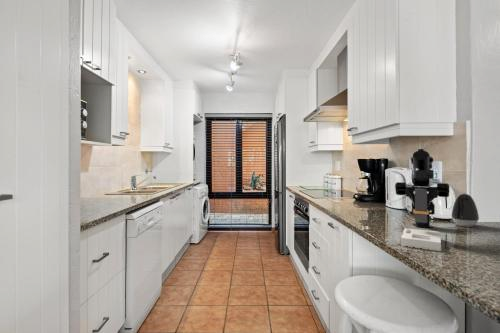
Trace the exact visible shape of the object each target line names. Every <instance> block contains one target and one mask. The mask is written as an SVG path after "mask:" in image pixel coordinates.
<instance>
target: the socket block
mask: <svg viewBox="0 0 500 333" xmlns="http://www.w3.org/2000/svg"><path fill="white" fill-rule="evenodd" d="M400 238H401V239H400V240H401V241H400V242H401V245H402V246H401V245H400V246H401V247H405V246H408V247H407V248H413V247H415V248H414V249H420V248H422V250H428V249H429V251H434V252H436V251H437V252H441V251H442V241H441V234H440V231H434V230H426V229H418V228H417V229H416V228H408V227H407V228H406V227H405V228H404V229H403V231H402V235H401V236H400Z"/></svg>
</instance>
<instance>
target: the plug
mask: <svg viewBox="0 0 500 333" xmlns="http://www.w3.org/2000/svg"><path fill="white" fill-rule="evenodd" d="M427 193H428V192H427V189H415V192H414V194H415V209H414V210H413V213H412V214H414V220H415V221H414V223H415V222H421V223H427V214H428V215H429V212H430V211H429V210H427Z"/></svg>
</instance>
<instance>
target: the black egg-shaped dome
mask: <svg viewBox="0 0 500 333" xmlns="http://www.w3.org/2000/svg"><path fill="white" fill-rule="evenodd" d="M479 215H480V214H479V211H478V207H477V205H476V201H475V200H474V199H473V197H472V196H471V195H470V194H468V193H460V194H459V195H458V196H457V197H456V199H455V201H454V203H453V207H452V210H451V218H452V221H453V223H454V224H456V225H457V226H460V227H466V228H469V227H470V228H471V227H474V226H476V225H477V224H478V221H479V220H480V216H479Z"/></svg>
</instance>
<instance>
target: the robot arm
mask: <svg viewBox="0 0 500 333" xmlns="http://www.w3.org/2000/svg"><path fill="white" fill-rule="evenodd" d="M433 163H434V158H433V157H432V156H430V153H429V152H428V151H426V150H424V148H418V149H417V151H415V152H413V154H412V156H411V158H410V164H411V165H413V167H412V168H413V177H412V184H407V182H399V181H397V182H396V183H395V185H394V190H395V194H396V195H397V196H405V197H407V198H409V200H410V201H411V214H414V213H413V210H414V209H415V189H427V210H429V215H428V214H427V223H421V222H415V221H414V223H412V225H413V226H415V227H417V228H434V226H433V225H431V224H430V223H431V222H430V221H431V220H430V215H432V216H433V215H435V213H436V212H435V211H436V210H435V208H436V207H435V203H434V200H435V199H437V198H438V197H439V198H448V197H450V183H445V182H444V183H443V182H442V183H441V182H440V183H439V182H437V183H436V186H431V185H430V180H431V179H432V180H433V179H434V174H435V172H434V169H433Z"/></svg>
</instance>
